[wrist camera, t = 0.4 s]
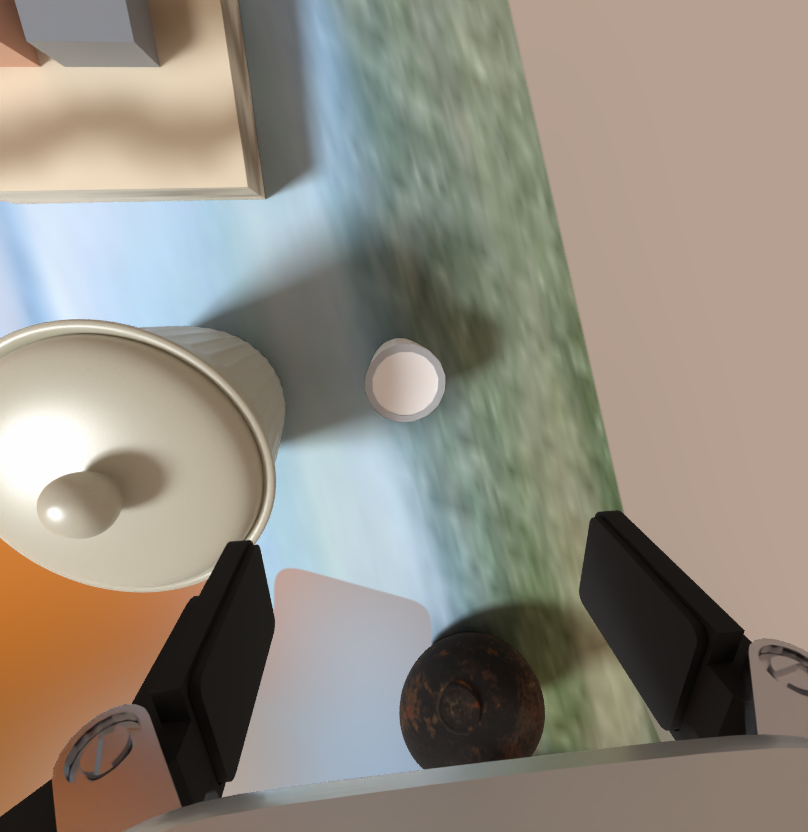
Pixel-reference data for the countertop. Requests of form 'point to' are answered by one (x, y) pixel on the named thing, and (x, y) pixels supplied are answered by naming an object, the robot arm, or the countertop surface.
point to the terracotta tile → (14, 39)
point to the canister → (134, 450)
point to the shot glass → (404, 381)
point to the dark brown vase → (471, 703)
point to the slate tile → (91, 32)
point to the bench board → (137, 119)
